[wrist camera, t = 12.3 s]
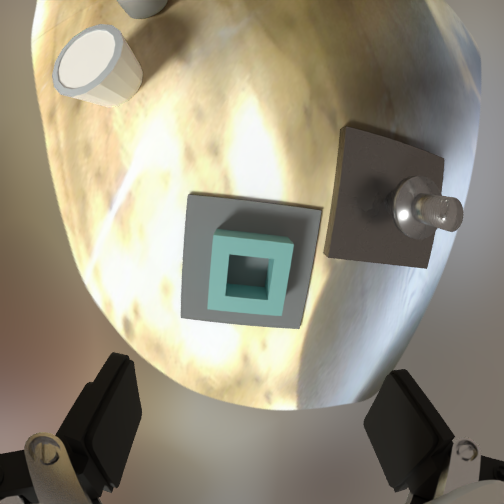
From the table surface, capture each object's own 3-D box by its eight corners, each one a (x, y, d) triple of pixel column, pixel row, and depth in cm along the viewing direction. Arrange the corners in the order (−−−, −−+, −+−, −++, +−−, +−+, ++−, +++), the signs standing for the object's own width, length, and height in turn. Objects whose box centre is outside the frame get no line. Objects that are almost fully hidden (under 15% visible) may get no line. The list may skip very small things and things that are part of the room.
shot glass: (80, 83, 20) (43, 63, 14) (132, 42, 20) (105, 10, 13) (104, 127, 22) (65, 113, 15) (161, 83, 21) (136, 54, 14)
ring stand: (340, 128, 23) (394, 103, 13) (436, 159, 24) (502, 158, 14) (323, 253, 26) (367, 293, 16) (419, 264, 27) (478, 297, 17)
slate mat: (188, 194, 24) (187, 194, 24) (320, 210, 25) (321, 210, 24) (181, 316, 27) (180, 317, 26) (298, 327, 28) (299, 328, 27)
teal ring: (216, 228, 24) (213, 235, 22) (287, 236, 25) (293, 244, 22) (210, 295, 26) (207, 309, 23) (277, 302, 26) (281, 316, 24)
